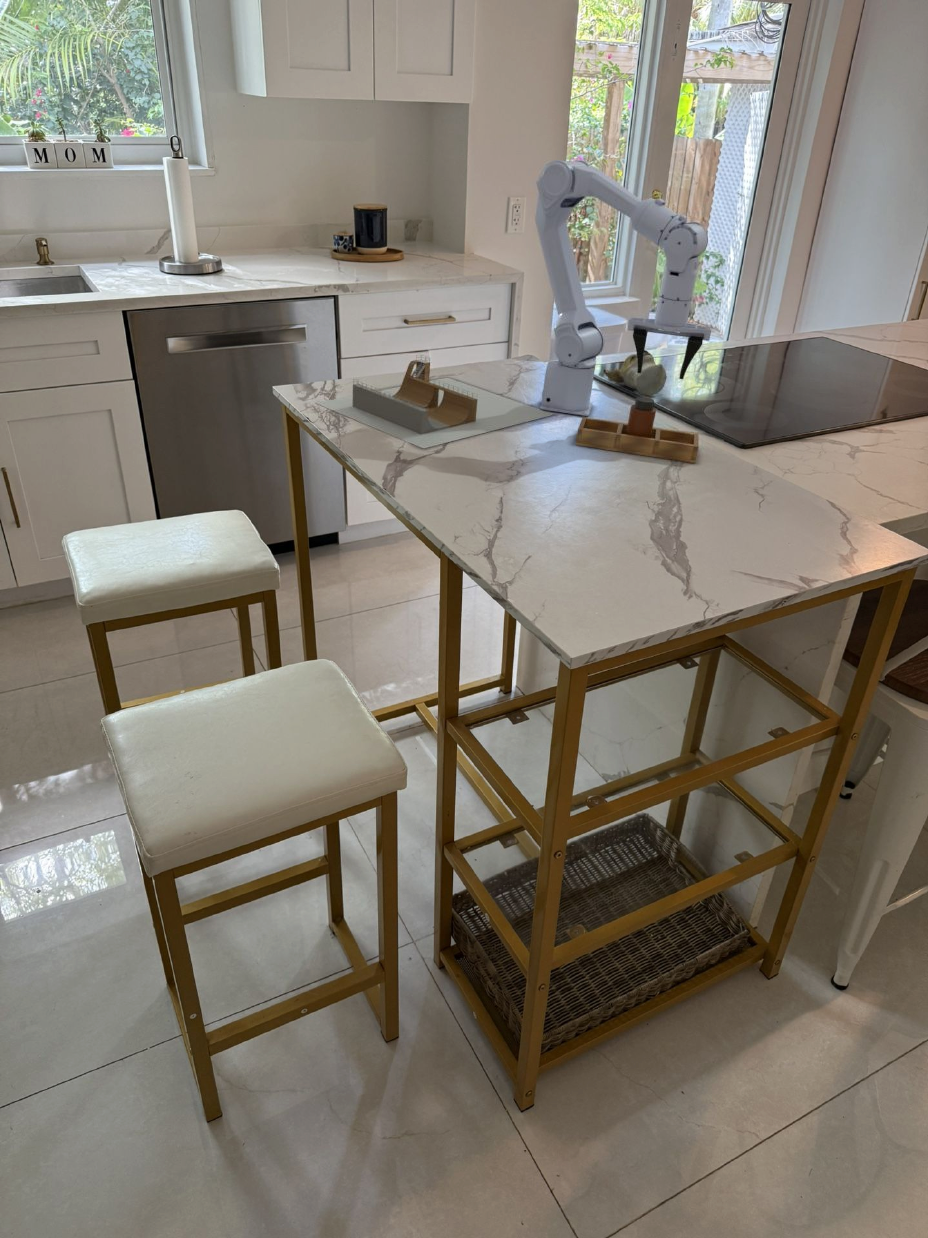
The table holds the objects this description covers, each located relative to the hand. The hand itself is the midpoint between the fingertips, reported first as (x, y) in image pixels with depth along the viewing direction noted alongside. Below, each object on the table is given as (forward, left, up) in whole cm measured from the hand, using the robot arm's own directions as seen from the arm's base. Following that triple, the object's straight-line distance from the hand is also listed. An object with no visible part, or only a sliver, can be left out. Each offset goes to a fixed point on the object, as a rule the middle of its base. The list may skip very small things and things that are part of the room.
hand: (660, 374), depth 162 cm
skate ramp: (-40, -7, -11) cm, 42 cm away
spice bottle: (-2, -12, -10) cm, 15 cm away
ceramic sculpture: (-4, +28, -11) cm, 30 cm away
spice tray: (-2, -12, -10) cm, 16 cm away
